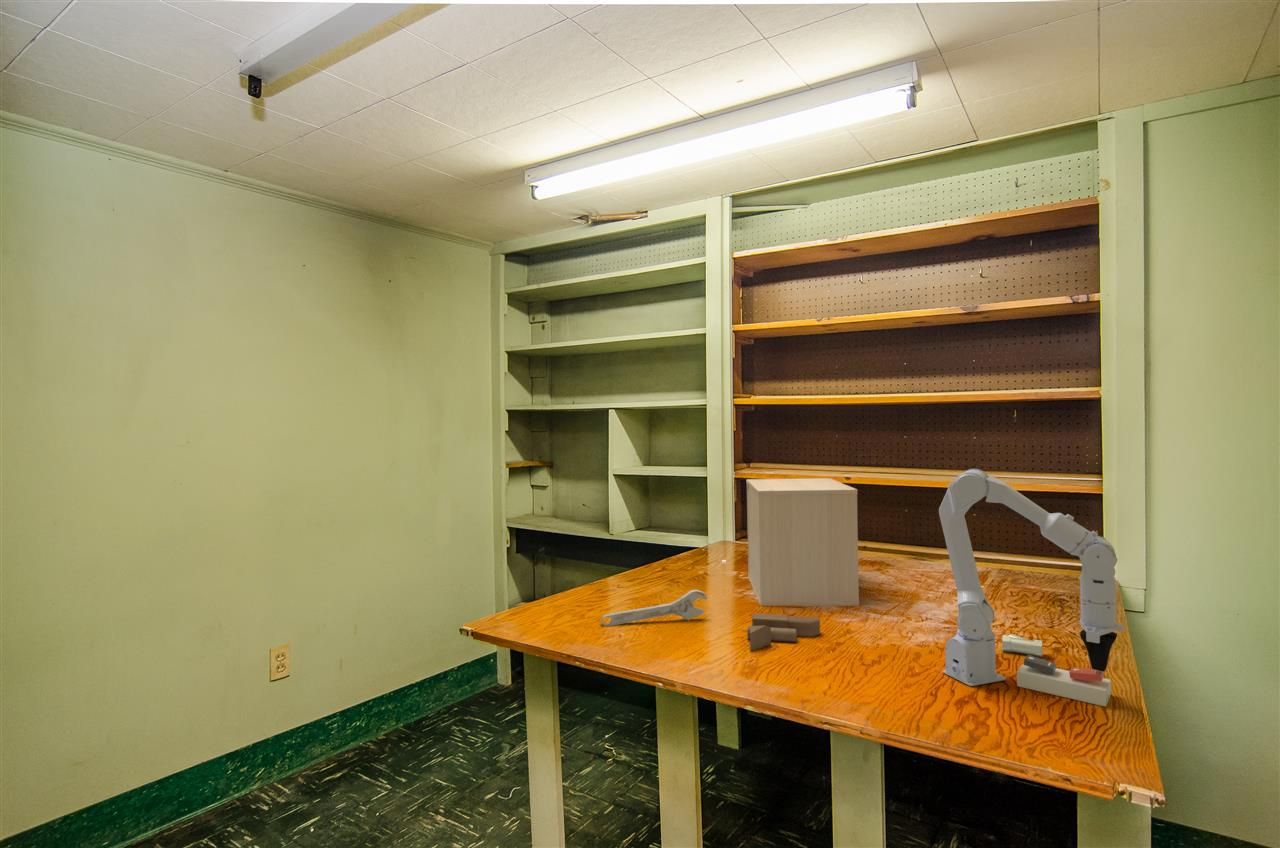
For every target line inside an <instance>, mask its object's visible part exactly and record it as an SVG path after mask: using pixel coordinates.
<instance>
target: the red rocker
mask: <svg viewBox="0 0 1280 848" xmlns="http://www.w3.org/2000/svg"><path fill="white" fill-rule="evenodd" d="M1069 671H1070V672H1069V674H1070V678H1072V679H1082V680H1092V681H1102V680H1103V678H1104V677H1105V673H1104V671H1099V670H1094V669H1092V668H1086V667H1077V666H1076V667H1075V666H1072V667H1071V668H1070V670H1069Z"/></svg>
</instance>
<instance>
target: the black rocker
mask: <svg viewBox="0 0 1280 848" xmlns="http://www.w3.org/2000/svg"><path fill="white" fill-rule="evenodd" d="M1023 663H1024V665H1026V666H1029V667H1032V668H1035V669H1038V670H1041V671H1043V672H1046V673H1049V674H1052V675H1053V673H1054V672H1055V670H1056V668H1057V664H1058V663H1056V662H1052V661H1049V660H1045V659H1043V658H1041V657H1037V656H1034V655H1028V654H1026V657H1025V658H1024V660H1023Z"/></svg>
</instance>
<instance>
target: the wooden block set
mask: <svg viewBox="0 0 1280 848" xmlns="http://www.w3.org/2000/svg"><path fill="white" fill-rule="evenodd" d="M820 619H821V618H820V617H818V616H817V617H816V616H815V617H814V616H797V615H795V616H794V615H793V616H792V615H787V614H775V613H772V614H771V613H753V614H752V618H751V625H752V626H751V625H749V626H747V634H746V635H747V640H749V642H750V643H749V651H750V652H752V651H756V650H760V649H762V648H765V647H768V646H771V644H772V641H773V642H786V643H788V642H789V643H797V637H802V638H803V637H804V638H807V637H808V638H812V637H817V636H819V635H820V634H821V620H820Z"/></svg>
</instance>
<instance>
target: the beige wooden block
mask: <svg viewBox="0 0 1280 848" xmlns="http://www.w3.org/2000/svg"><path fill="white" fill-rule="evenodd" d="M745 482H746V508H747V509H746V513H747V514H746V515H747V519H746V520H747V521H746V523H747V561H748V562H747V564H748V565H747V566H748V567H747V569H748V573H747V577H748V580H749V582H750V584H751V587H752V589H753V592H754V594H755V597H756V599H757V602H758V604H759V605H760V607H761V606H762V607H764V606H765V607H767V606H768V607H771V606H772V607H775V606H776V607H777V606H779V607H780V606H781V607H783V606H784V607H786V606H790V607H791V606H792V607H793V606H795V607H796V606H800V607H803V606H807V607H808V606H810V607H812V606H818V607H819V606H821V607H823V606H831V607H832V606H836V607H837V606H838V607H839V606H841V607H842V606H843V607H844V606H845V607H846V606H850V607H853V606H856V607H857V606H860V600H859V599H860V594H859V593H860V592H859V591H860V587H859V533H858V529H859V527H858V521H859V520H858V489H857V488H855V487H852V486H851V485H848V484H844V483H843V482H840V481H837V480H835V479H833V478H831V477H828V478H826V477H824V478H823V477H822V478H820V477H817V478H814V477H813V478H762V479H761V478H760V479H758V478H757V479H756V478H755V479H754V478H753V479H751V478H750V479H749V478H748V479H747V478H746V481H745Z"/></svg>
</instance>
